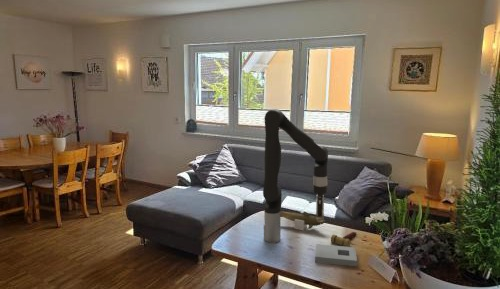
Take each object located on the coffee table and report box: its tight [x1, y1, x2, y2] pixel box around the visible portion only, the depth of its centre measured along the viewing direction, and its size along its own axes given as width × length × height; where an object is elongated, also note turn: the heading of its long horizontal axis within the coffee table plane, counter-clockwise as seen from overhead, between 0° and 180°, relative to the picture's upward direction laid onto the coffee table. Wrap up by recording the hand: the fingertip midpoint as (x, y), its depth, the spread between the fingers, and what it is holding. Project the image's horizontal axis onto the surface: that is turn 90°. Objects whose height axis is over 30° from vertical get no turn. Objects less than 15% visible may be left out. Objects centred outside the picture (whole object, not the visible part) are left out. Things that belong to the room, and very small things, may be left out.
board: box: [314, 243, 358, 267], centre depth 165 cm, size 20×14×3 cm
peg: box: [315, 198, 325, 222], centre depth 175 cm, size 4×4×12 cm
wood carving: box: [280, 209, 326, 231], centre depth 203 cm, size 9×35×11 cm, turn 61°
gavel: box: [330, 231, 357, 247], centre depth 185 cm, size 21×5×10 cm
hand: (319, 214), depth 175 cm, fingers closed on peg, 4 cm apart
